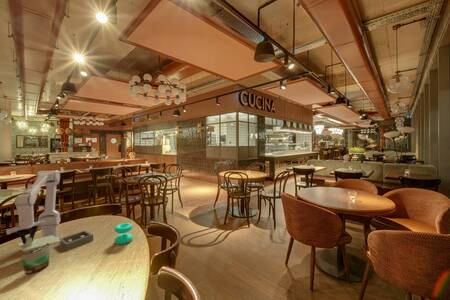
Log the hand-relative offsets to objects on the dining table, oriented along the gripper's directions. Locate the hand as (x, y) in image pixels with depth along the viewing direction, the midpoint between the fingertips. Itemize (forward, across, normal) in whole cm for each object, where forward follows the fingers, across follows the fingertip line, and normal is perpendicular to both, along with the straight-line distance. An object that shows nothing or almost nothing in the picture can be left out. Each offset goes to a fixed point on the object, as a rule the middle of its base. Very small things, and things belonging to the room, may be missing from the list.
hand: (27, 242), depth 108 cm
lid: (+3, +5, 0) cm, 5 cm away
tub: (+10, +22, 0) cm, 24 cm away
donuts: (+10, +39, -23) cm, 46 cm away
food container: (+10, +1, -15) cm, 18 cm away
